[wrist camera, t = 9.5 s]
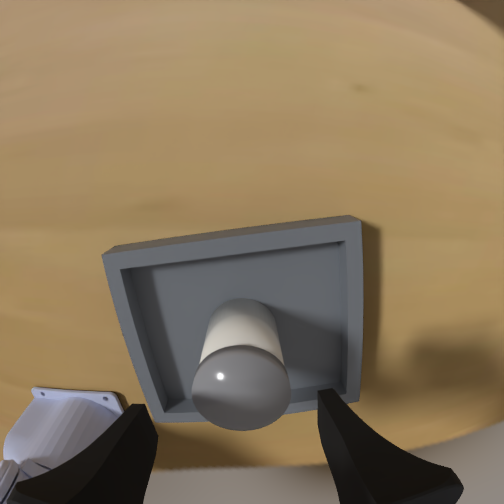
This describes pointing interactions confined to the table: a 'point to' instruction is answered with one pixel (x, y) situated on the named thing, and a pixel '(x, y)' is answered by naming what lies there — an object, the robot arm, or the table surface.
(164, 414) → the tray
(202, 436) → the table surface
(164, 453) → the table surface
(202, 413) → the shaker
